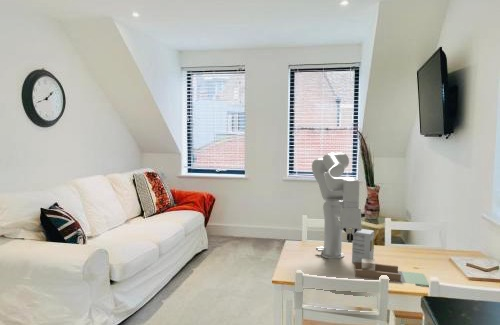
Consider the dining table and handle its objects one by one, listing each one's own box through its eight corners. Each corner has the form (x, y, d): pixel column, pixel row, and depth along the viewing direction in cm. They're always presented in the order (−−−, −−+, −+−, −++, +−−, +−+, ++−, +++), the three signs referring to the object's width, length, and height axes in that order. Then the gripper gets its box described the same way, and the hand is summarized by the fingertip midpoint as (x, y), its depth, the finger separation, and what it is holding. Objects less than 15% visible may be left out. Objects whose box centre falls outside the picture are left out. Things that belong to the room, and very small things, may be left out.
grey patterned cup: (361, 274, 170) (362, 262, 170) (361, 270, 176) (361, 258, 176) (374, 275, 169) (375, 263, 168) (374, 271, 174) (374, 259, 174)
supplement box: (369, 266, 183) (370, 234, 181) (351, 262, 188) (352, 231, 186) (373, 260, 191) (374, 230, 189) (356, 257, 196) (357, 227, 194)
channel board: (355, 278, 167) (355, 270, 167) (355, 267, 181) (355, 260, 180) (429, 286, 158) (430, 278, 158) (423, 274, 172) (424, 267, 172)
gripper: (334, 205, 171) (333, 242, 172) (367, 206, 166) (366, 245, 168) (335, 202, 178) (334, 238, 179) (366, 204, 174) (365, 240, 175)
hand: (349, 241), depth 173 cm, fingers closed
